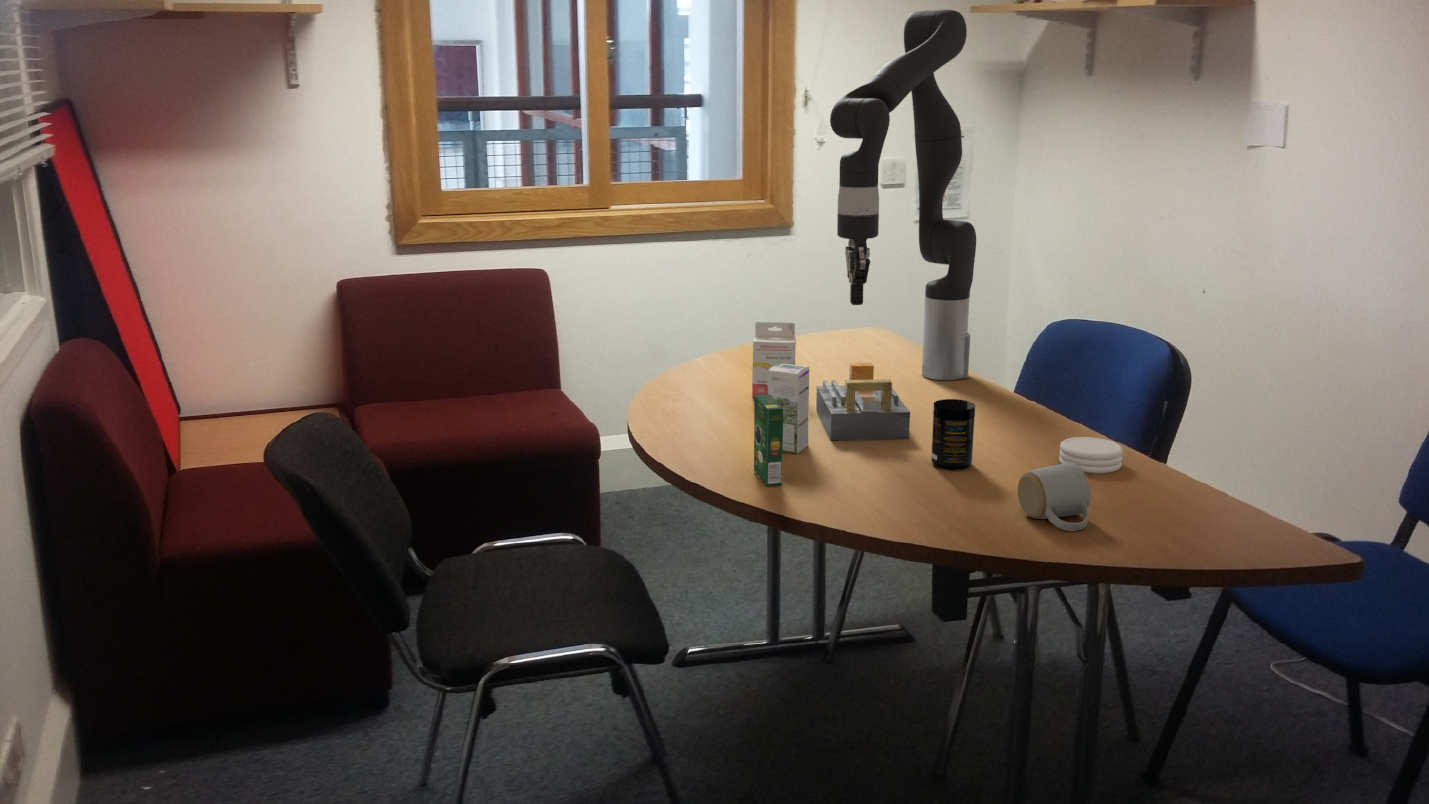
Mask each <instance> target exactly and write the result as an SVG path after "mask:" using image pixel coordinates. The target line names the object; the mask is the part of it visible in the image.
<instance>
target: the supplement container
mask: <svg viewBox="0 0 1429 804" xmlns="http://www.w3.org/2000/svg"><path fill="white" fill-rule="evenodd" d="M932 409H933V411H932V414H933V415H932V416H933V417H932V418H933V419H932V435H931V437H932V438H931V439H932V440H931V457H930V458H931V459H930V461H931V463H932V465H933V466H935V468H938V469H940V470H946V471H963V470H966V469H969V468H970V467H971V466H972V463H973V454H974V453H973V451H974V450H973V448H974V431H975V416H976V404H975V403H974V402H973V401H968V400H965V399H956V398H946V399H939V400H936V401H934V402H933V408H932Z"/></svg>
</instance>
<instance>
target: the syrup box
mask: <svg viewBox="0 0 1429 804" xmlns="http://www.w3.org/2000/svg"><path fill="white" fill-rule="evenodd" d="M768 395H771V396H772V397H773V398H774V399H775V400H776V401H777V402H778V403H779V404H780V405H781V406H782V407H783V408H784V414H783V453H791V454H799V453H800V452H802V451H803V450H804V449H806V447H808V446H809V411H810V410H809V406H810V405H809V403H810V401H809V400H810V399H809V398H810V366H808V365H802V364H801V365H800V364H799V365H796V364H795V365H791V364H781V363H779V364H776V365H774V366H773V367H772V368H770V369H769V370H768Z"/></svg>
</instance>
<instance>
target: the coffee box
mask: <svg viewBox="0 0 1429 804" xmlns="http://www.w3.org/2000/svg"><path fill="white" fill-rule="evenodd" d="M753 399H754V400H753V401H754V404H753V406H754V407H753V408H754V410H753V411H754V412H753V413H754V414H753V415H754V416H753V417H754V418H753V419H754V421H753V422H754V426H753V427H754V429H753V430H754V433H753V471H754V473H755V474H756V475H757V476H758V478H759V479H760V480H761V481H762V483H763V485H765V486H766V487H767V488H768V487H769V488H770V487H781V486H782V481H783V453H784V452H783V414H784V408H783V407H782V406H781V405H780V404H779V403H778V402H777V401H776V400H775V399H774V398H773V397H772V396H771V395H755V396H754V397H753Z"/></svg>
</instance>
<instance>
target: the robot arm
mask: <svg viewBox="0 0 1429 804" xmlns="http://www.w3.org/2000/svg"><path fill="white" fill-rule="evenodd" d="M903 28H904V29H903V47H904V52H905V53H904V54H901V55H899V56H897V57H895V58H893V59H891V60H890V61H888V62H887V63H885V64H883V66H881V68H880V69H878V70H877V71H876V72H875V73H874V74H873V76H872V77H870V79H869V80H868V81H867V82H866V83H864V84H862V85H860V86H858V87H856V88H854V89H853V90H851V91H849V92H847V93H846V94H844V95H843V96H842V97H840V98H839V99H838V100H837V102H835V104H834V105H833V108H832V110H831V112H830V116H829V117H830V118H829V123H830V127H831V129H832V131H833V133H834V134H835V135H836V136H838V137H839V138H843V139H857V140H858V139H859V140H861V139H862V140H861V143H860V145H859V148H858V150H856V151H851V152H847V153H844V154H843V155H842V156H841V157H840V161H839V183H838V185H839V186H838V194H837V217H836V218H837V229H836V231H837V233H836V235H837V236H838V237H839V238H842V239H844V240H847V239H848V246H846V245H845V247H844V248H845V250H844V254H845V261H846V271H847V274H846V276H847V279H848V283H849V284H850V285H849V286H850V287H849V292H850V293H849V302H850V304H851V305H852V306H861V305H863V304H864V285H865V284H866V283H867V281H868V275H869V270H870V265H871V260H870V253H871V250H870V248H869V247H868V243H867V241H868V239H875V238H876V237H877V238H878V236H879V229H880V227H879V222H880V210H879V209H880V195H879V165H880V160H881V156H882V152H883V148H884V145H885V144H884V143H885V141H886V137H887V134H888V130H889V127H890V121H891V117H890V113H892V112H893V111H895V109H896V108H897V107H898V106H899V105H900V104H901V103H902V102H903V100H904V99H905V98H906V97H907V96H908V95H909V94H910V93H911V101H912V110H913V125H914V127H913V128H914V130H913V132H914V146H915V156H916V165H917V167H916V168H917V177H918V178H917V179H918V182H917V183H918V195H919V196H918V198H919V200H918V201H919V202H918V203H919V204H918V245H919V246H918V247H919V252H920V254H921V257H922V259H923V260H924V261H925V262H928V263H931V264H940V265H945V266H947V265H948V268H947V269H948V270H947V273H946V275H944V276H943V277H941V278H937V279H934V280H930V281H928V282H927V283H926V284H925V285H926V286H925V292H924V295H925V296H924V298H925V299H924V318H923V320H924V321H923V339H922V340H923V341H922V343H923V344H922V359H921V360H922V361H921V362H922V363H921V376H922V377H925V378H927V379H931V380H937V381H958V380H961V379H969V368H970V352H971V351H970V348H971V347H970V346H971V334H970V333H969V314H970V313H969V312H970V294H971V287H972V284H973V280H974V268H975V262H976V261H975V259H976V251H977V250H976V249H977V232H976V228H975V227H974V225H973V224H972V223H971V222H969V221H965V220H952V219H951V220H950V219H944V215H943V214H944V213H943V202H944V196H945V193H946V190H947V189H948V187H949V185H950V183H951V181H952V179H953V177H954V176H955V174H956V173H957V171H958V168H959V166H960V164H961V161H962V158H963V143H962V142H963V141H962V126H961V123H960V122H961V121H960V120H959V117H958V116H957V113H956V112H955V111H954V109H953V107H952V106H951V104H950V103H949V101H948V100H947V98H946V97H945V95H944V94H943V93H942V90H941V89H940V87H939V86H938V82H937V81H936V77H935V72H937V71H938V70H939V69H940V68H942V67H944V66H945V65H946V64H947V63H949V62H951V61H952V60H953V59H955V58H956V57H957V56H958V55H959V54H960V53H961V52H962V50H963V49H964V46H965V44H966V41H967V33H968V31H967V30H968V29H967V24H966V20H965V17H964V16H963V15H962V13H961V12H959V11H957V10H954V9H931V10H919V11H918V10H916V11H912V12H911V13H910V14H909V15H908V16H907V17H906V21H904V27H903Z"/></svg>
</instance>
